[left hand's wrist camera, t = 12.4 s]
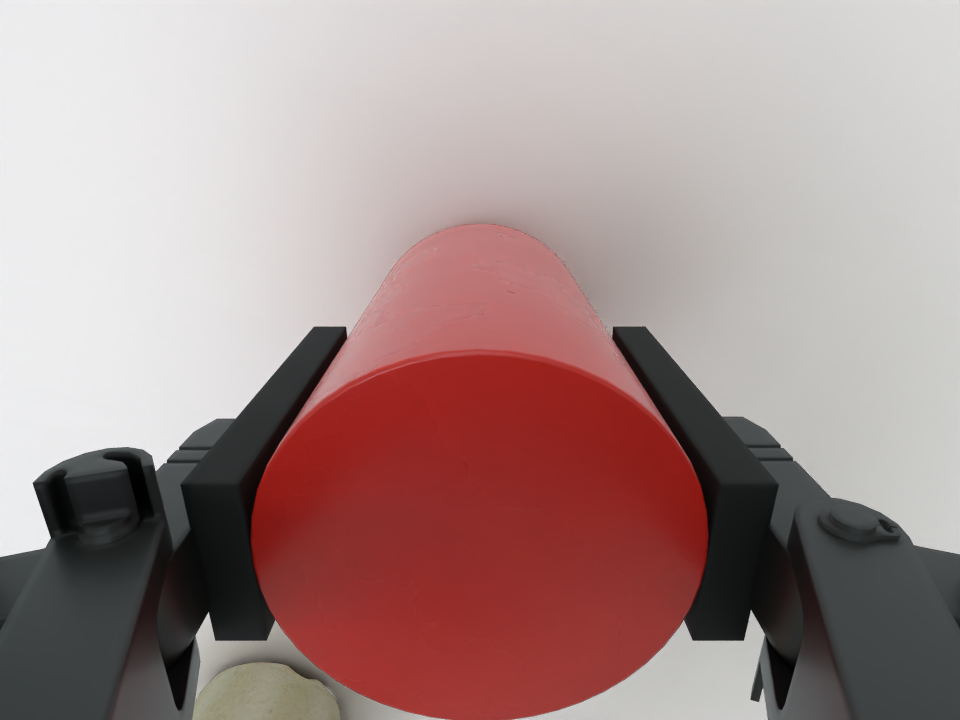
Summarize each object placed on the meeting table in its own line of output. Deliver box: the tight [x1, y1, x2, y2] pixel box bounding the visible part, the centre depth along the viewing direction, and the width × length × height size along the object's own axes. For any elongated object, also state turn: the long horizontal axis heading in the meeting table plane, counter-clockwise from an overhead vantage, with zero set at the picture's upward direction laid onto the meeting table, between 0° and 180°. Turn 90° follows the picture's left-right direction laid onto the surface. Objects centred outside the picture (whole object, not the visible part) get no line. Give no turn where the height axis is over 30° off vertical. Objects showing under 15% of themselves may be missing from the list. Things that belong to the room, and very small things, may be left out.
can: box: [251, 224, 709, 720], centre depth 13 cm, size 6×6×10 cm
